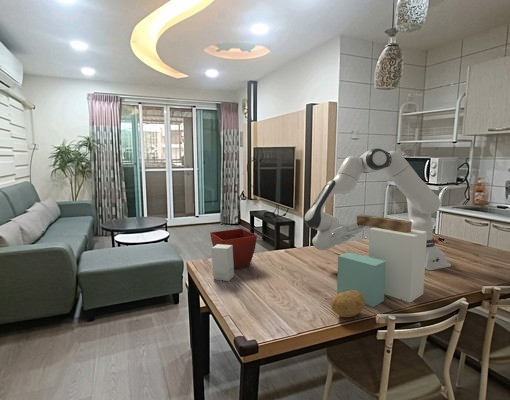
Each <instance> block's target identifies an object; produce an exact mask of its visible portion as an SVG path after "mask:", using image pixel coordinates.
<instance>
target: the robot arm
mask: <svg viewBox="0 0 510 400" xmlns="http://www.w3.org/2000/svg"><path fill="white" fill-rule="evenodd" d="M380 170H383V171H384V172H386V174H387V176H388V177H389V178H390V180H391V181H392V182H393V183H394V185H395V186H396V188H397V189H398V190H399V191H400V192H401V193H402V194H403V195H404V196H405V197H406V202H407V217H408V221H412V226H411V229H413V230H420V231H426V232H427V242H426V258H425V270H429V271H434V270H439V269H444V268H450V267H452V264H451V263H450V262H448V261H447V257H446V254H445V252H444V251H442V250H441V249H440V248H439V247H437V245H438V244H439V243H440V242H441V241H440V239H436V238H435V239H434V238H433V235H434V234H433V232H434V223H433V222H434V221H433V218H432V214H433V213H436V212H437V211H439V209H440V207H441V204H442V203H441V199H440V197H439V196H438V195H437V194H436V193H435V192H434V191H433V190H432V188H431V187H429V185H428V184H427V183H426V182H425V181H424V180H422V178H420V176H419V175H418V173H417V172H416V171H415V169H414V168H413V167H412V166H411V164H410V163H409V161H407V160H406V158H405V157H404V156H402V154H400V153H399V151H396V150H389V151H386V150H384V149H382V148H372V149H369V150H367V151H365V152H364V153H362V154H361V155H359V156H355V155H349V156H347V157H346V158H345V159H344V160H343V161H342V163H341V165H340V167H339V169H338V170H337V173H336V175H335V176H334V177H333V179H331V180H329V181H327V182H326V183H325V185H324V186H323V187H322V189H321V190H320V193H318V195H317V197H316V199H315V200H314V201H313V204H312V205H311V207H310V208H309V209H308V210H307V211H306V212H305V214H304V217H303V218H304V223H305V225H306V227H307V228H310V229H313V230H315V231H317V233H316V234H315V236H314V237H313V238H312V241H311V242H312V245H313V246H314V248H316V249H317V250H318V251H327V250H330V249H332V248H335V246H339V245H342V244H345V242H346V243H347V242H348V241H349V240H350V239H352V238H354V237H356V235H357V234H359V233H361V232H362V231H364V230H366V229H368V226H363V225H359V224H358V223H357V222H353V223H348V224H342V223H339V220H338V218H337V217H335V216H333V215H331V214H329V213H326V212H324V211H323V210H324V208H325V207H326V205H327V204H328V202H329V200H330V198H331V197H332V196H333V195H338V194H340V195H346V194H349V193H351V192H352V191H354V189H356V186H357V185H358V184H357V183H358V182H359V180H360V176H361V175H362V174H364V173H365V174H369V173H376V172H378V171H380ZM436 244H437V245H436Z"/></svg>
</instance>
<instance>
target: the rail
mask: <svg viewBox="0 0 510 400" xmlns="http://www.w3.org/2000/svg"><path fill="white" fill-rule="evenodd" d="M356 223H358V224H359V225H363V226H367V227H370V228H381V229H387V230H393V231H398V232H404V233H408V232H411V226H412V221H409V220H404V219H403V220H402V219H397V218H396V219H395V218H390V217H389V218H388V217H381V216H373V215H367V214H358V215H356Z"/></svg>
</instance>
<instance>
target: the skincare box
mask: <svg viewBox="0 0 510 400" xmlns="http://www.w3.org/2000/svg"><path fill="white" fill-rule="evenodd" d="M211 256H212V257H211V260H212V261H211V262H212V277H213V279H216V280H215V281H222V280H223V282H230V281H231V280H232V279H233V278H234V277H235V269H234V264H233V245H222V244H217V245H215V246H214V247H213V246H212V247H211ZM213 279H212V280H213Z"/></svg>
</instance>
